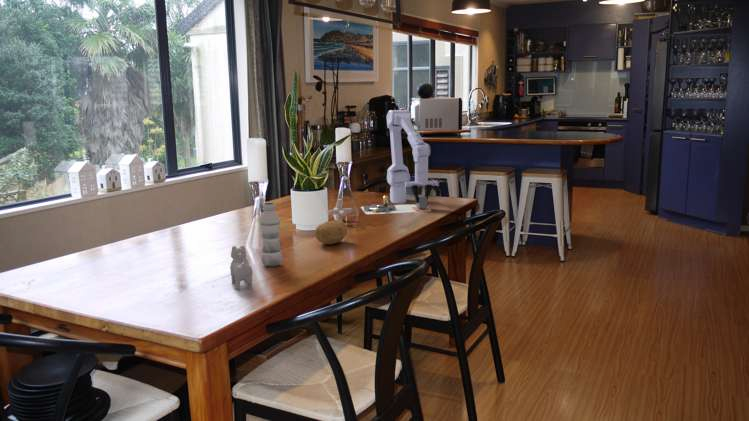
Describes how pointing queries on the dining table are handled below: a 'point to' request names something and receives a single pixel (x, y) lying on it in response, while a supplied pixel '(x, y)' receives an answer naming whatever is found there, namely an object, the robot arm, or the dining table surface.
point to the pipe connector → (339, 210)
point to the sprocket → (380, 207)
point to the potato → (331, 232)
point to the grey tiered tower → (270, 236)
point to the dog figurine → (240, 267)
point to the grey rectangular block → (422, 201)
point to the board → (402, 209)
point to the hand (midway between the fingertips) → (421, 202)
